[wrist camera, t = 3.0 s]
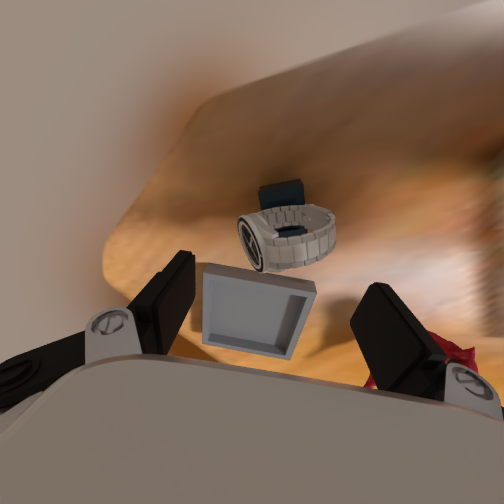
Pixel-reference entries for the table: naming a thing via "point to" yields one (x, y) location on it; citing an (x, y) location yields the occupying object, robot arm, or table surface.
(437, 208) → the table surface
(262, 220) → the watch
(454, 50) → the table surface
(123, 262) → the table surface
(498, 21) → the table surface
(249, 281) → the tray
